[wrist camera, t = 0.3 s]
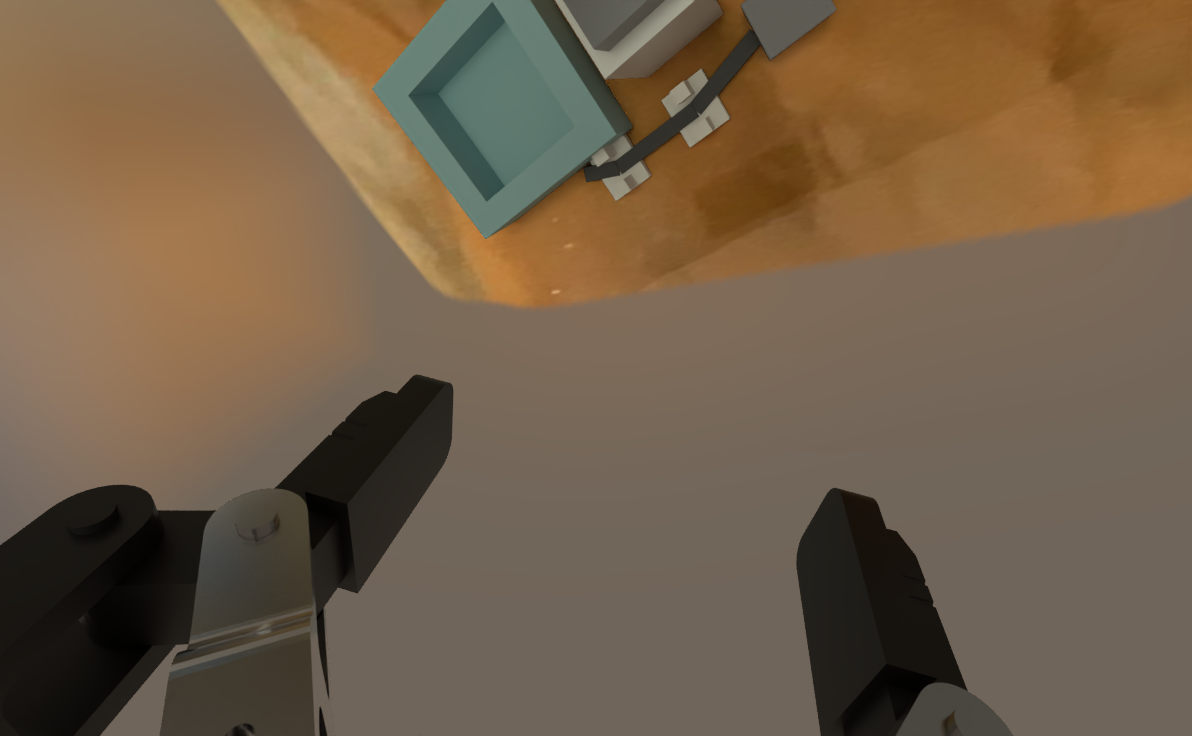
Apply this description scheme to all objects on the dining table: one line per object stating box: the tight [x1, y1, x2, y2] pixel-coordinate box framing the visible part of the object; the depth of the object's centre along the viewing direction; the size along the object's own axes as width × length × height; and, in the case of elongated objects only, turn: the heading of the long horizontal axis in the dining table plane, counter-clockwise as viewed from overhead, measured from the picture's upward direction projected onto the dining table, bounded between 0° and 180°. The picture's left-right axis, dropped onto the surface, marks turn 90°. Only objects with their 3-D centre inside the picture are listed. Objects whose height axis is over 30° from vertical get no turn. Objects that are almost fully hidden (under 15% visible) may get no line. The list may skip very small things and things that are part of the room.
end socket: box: [372, 0, 633, 239], centre depth 29 cm, size 10×10×4 cm
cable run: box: [583, 0, 836, 201], centre depth 27 cm, size 14×4×3 cm, turn 128°
